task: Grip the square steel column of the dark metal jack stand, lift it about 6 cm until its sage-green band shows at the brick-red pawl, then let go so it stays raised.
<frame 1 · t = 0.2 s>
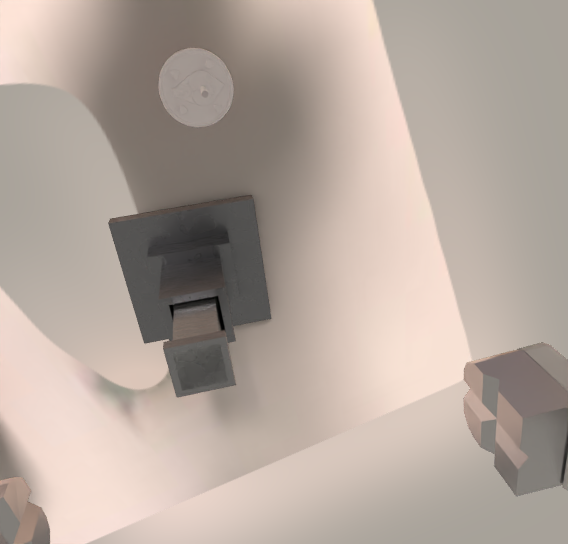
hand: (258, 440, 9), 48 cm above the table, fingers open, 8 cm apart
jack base: (195, 269, 59), on the table
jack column: (198, 313, 50), point 11 cm above the table, slide at 0.0 cm
smoothie: (194, 79, 50), on the table
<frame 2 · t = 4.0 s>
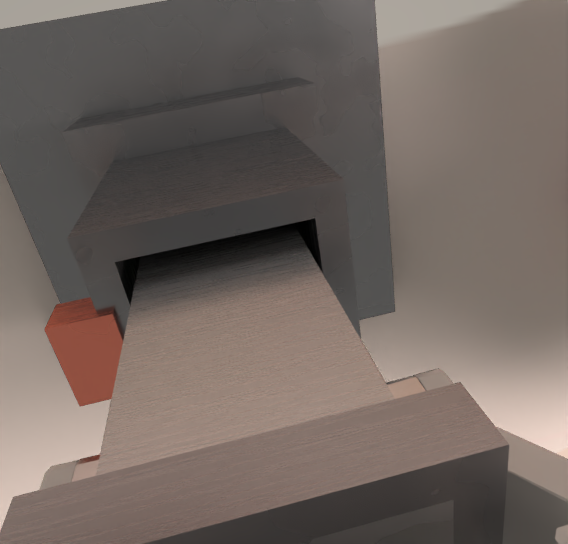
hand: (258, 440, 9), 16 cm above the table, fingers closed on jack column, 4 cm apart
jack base: (213, 192, 23), on the table
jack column: (232, 298, 14), point 11 cm above the table, slide at 0.0 cm, touching gripper
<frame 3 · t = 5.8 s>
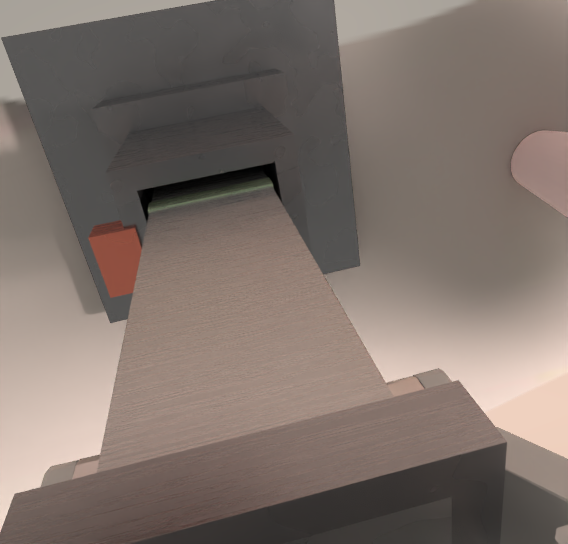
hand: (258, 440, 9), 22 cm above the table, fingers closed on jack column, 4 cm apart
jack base: (208, 163, 28), on the table
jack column: (232, 297, 14), point 16 cm above the table, slide at 5.8 cm, touching gripper
smoothie: (534, 158, 32), on the table
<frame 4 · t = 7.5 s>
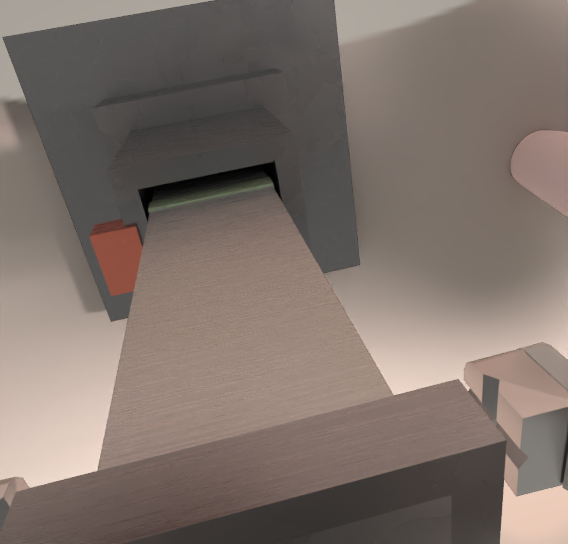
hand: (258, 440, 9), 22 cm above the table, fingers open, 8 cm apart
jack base: (208, 163, 29), on the table
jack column: (232, 297, 14), point 17 cm above the table, slide at 5.9 cm
smoothie: (534, 157, 32), on the table
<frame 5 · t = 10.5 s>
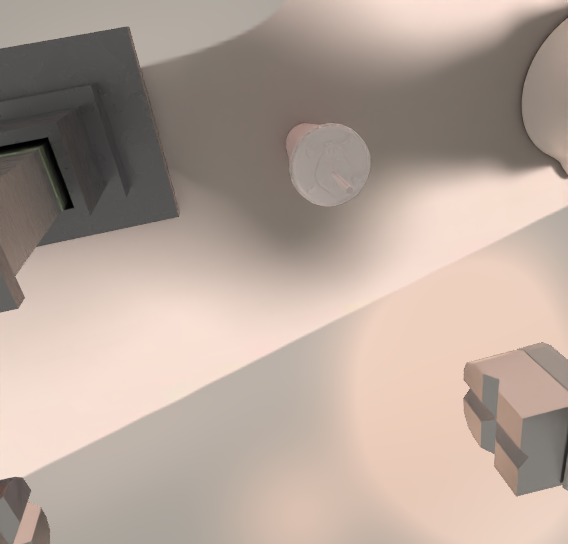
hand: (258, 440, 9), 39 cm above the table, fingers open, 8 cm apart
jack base: (64, 144, 43), on the table
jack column: (1, 202, 28), point 17 cm above the table, slide at 5.9 cm
smoothie: (304, 142, 46), on the table
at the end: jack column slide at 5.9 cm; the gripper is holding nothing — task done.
